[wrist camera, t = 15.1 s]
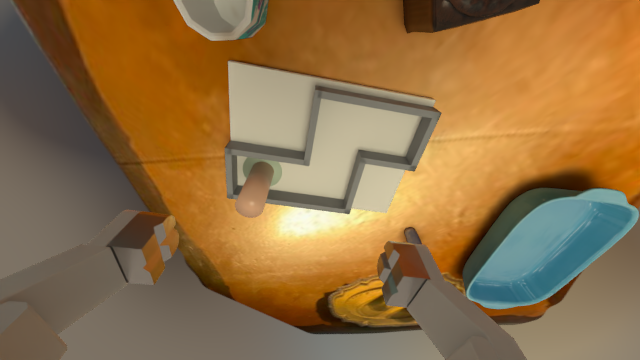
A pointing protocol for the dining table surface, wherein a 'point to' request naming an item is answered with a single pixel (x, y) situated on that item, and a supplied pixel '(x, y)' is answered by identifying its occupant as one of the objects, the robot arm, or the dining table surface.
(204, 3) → the mug
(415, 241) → the flask
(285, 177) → the channel
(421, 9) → the coffee grinder
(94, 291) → the robot arm
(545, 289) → the casserole dish
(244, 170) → the pad
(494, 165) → the dining table surface
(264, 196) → the peg
